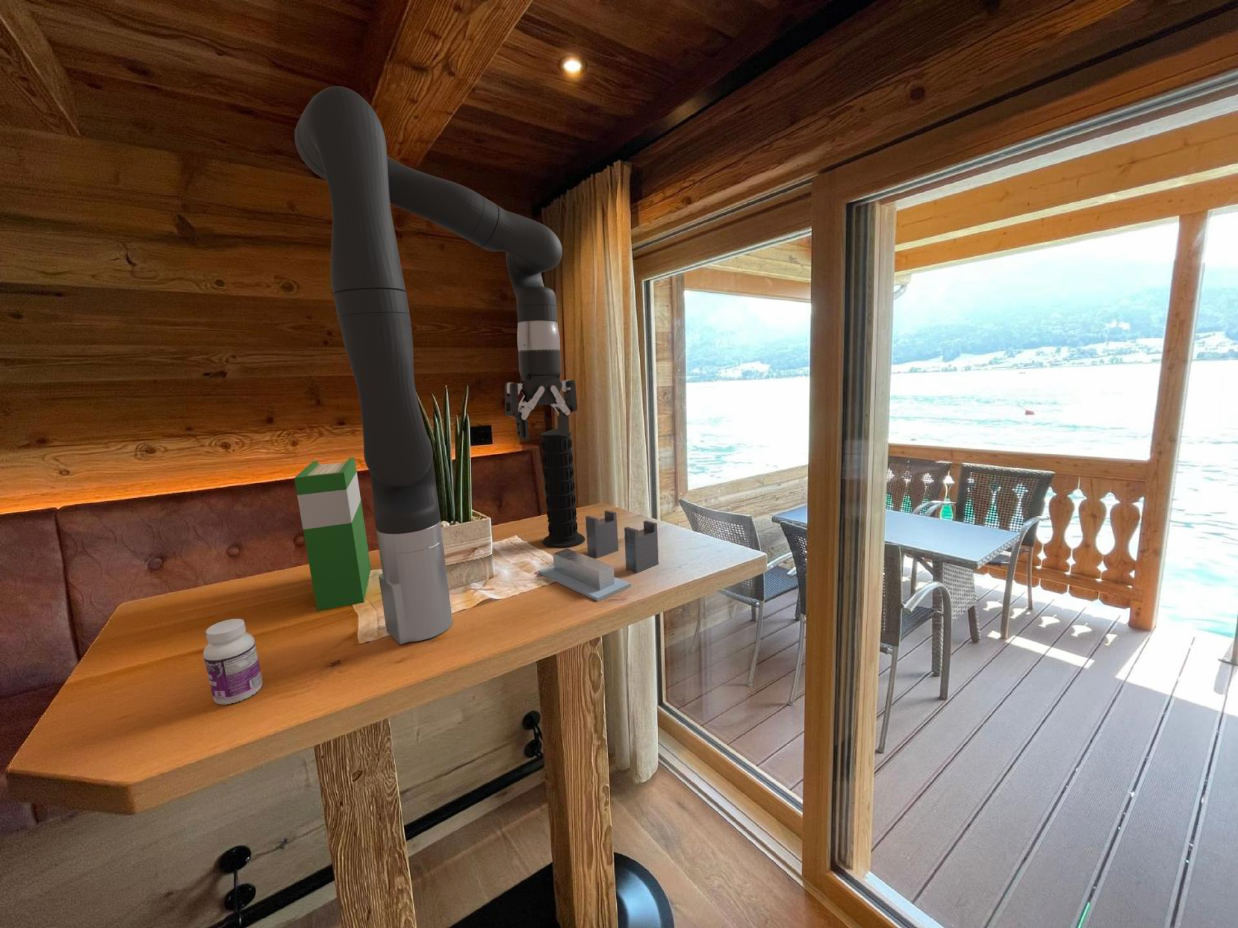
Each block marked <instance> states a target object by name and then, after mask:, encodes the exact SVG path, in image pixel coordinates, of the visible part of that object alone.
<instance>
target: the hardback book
mask: <svg viewBox="0 0 1238 928" xmlns="http://www.w3.org/2000/svg"><path fill="white" fill-rule="evenodd" d="M294 484H295V491H296V496H297V501H298V507H299V508H298V509H299V513H300V514H299V515H300V520H301V525H302V531H303V538H304V543H305V548H306V554H307V560H308V567H309V571H310V576H311V577H310V578H311V583H312V588H313V589H312V590H313V593H314V600H315V606H316V612H320V611H326V610H332V609H336V608H342V607H343V608H344V607H347V606H352V605H359V604H362V603H365V598H366V594H367V588H368V584H369V580H370V576H369V575H371V571H372V566H371V561H370V560H371V559H370V553H369V546H368V539H367V538H368V537H367V533H366V526H365V519H364V512H363V506H362V499H361V493H360V485H359V477H358V472H357V463H356V458H355V456H353V457H349V458H348V459H347V460H346V461H341V462H333V463H332V462H330V463H320V462H319V460H314V461H311V463H310V464H308V465H307V466H306V467H305V468H304V469H302V470H301V471H300V472H299V473H298V474H297V475H295V477H294ZM358 603H359V604H358Z"/></svg>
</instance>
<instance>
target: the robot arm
mask: <svg viewBox="0 0 1238 928" xmlns="http://www.w3.org/2000/svg"><path fill="white" fill-rule="evenodd" d="M385 135H386V134H385V131H384V129H383V125H382V123H381V120H380V118H379V117H378V115H377V113H376V112H375V110H374V109H373V107H372V106H371V104H369V102H368V101H367V99H365V98H364V97H362V96H361V94H359V93H358V92H355V91H354V90H353V89H350V88H348V87H345V86H338V85H335V86H333V85H332V86H329V87H326V88H325V89H322V90H320V91H319V92H318V93H316V95H314V96H313V97H312V98H311V99H310V101H309V102H308V104H307V105H306V107H305V108H304V110H303V112H302V114H301V115H300V117H299V119H298V121H297V124H296V126H295V129H294V144H295V147H296V150H297V152H298V155H299V156H300V158H301V160H302V162H304V164H305V165H306V166H307V167H308V168H309V169H310V170H311V171H312V172H313V173H314V174H316V175H317V176H319V177H320V178H321V179H324V180H325V181H326V183H327V187H328V191H329V197H330V203H331V211H332V212H331V213H332V214H331V215H332V216H331V218H332V229H331V244H330V245H331V247H330V278H331V288H332V295H333V299H334V306H335V309H336V310H335V311H336V314H337V320H338V324H339V327H340V331H341V336H342V340H343V344H344V347H345V352H346V354H347V355H346V356H347V358H348V361H349V366H350V368H351V372H352V374H353V377H354V380H355V384H356V387H357V392H358V397H359V403H360V413H361V423H362V424H361V425H362V437H363V438H362V439H363V459H364V463H365V465H366V467H367V469H368V471H369V476H370V477H369V478H370V483H371V488H372V489H371V490H372V499H373V500H372V501H373V518H374V523H375V530H376V536H377V544H378V551H379V559H380V563H381V565H380V566H381V572H382V574H381V573H380V575H379V576H378V579H379V580H378V581H379V588H380V594H381V601H382V602H381V603H382V608H383V609H382V610H383V616H384V623H385V628H386V630H385V631H386V632H387V633H388V634H389V635H390V637H392V639H394V640H395V641H396V642H397V643H398V645H404V644H406V643H412V642H420V641H423V640H424V641H425V640H427V639H431V638H434V637H436V636H439V635H440V634H442V633H445V631H447V630H448V629H449V628H450V627H451V625H452V623H453V616H452V615H453V614H452V605H451V599H450V589H449V583H448V582H449V581H448V573H447V565H446V558H445V546H444V541H443V539H444V538H443V532H442V530H443V529H442V523H441V522H442V521H441V513H440V504H439V497H438V490H437V483H436V475H435V468H434V457H433V455H434V452H433V447H432V442H431V439H430V438H429V435H428V434H427V430H426V428H425V427H426V426H425V423H424V420H423V417H422V412H421V408H420V406H419V404H420V403H419V400H418V396H417V391H416V384H415V372H414V371H415V370H414V369H415V366H414V343H413V331H412V329H413V328H412V321H411V313H410V308H409V302H408V295H407V291H406V290H407V289H406V284H405V281H404V275H403V270H402V264H401V259H400V251H399V248H398V241H397V236H396V231H395V226H394V221H393V215H392V209H391V208H392V207H391V205H392V206H395V207H396V208H400V209H402V210H405V211H407V212H409V213H412V214H414V215H416V216H419V217H420V218H423V219H425V220H428V221H429V222H432V223H434V224H436V225H438V226H440V227H442V228H444V229H446V230H448V231H450V232H451V233H453V234H455V235H457V236H459V237H461V238H463V239H465V240H467V241H468V242H471V244H474V245H476V246H477V247H479V248H482V249H484V250H486V251H488V252H494V253H496V252H504V253H505V252H506V253H505V262H506V263H505V264H506V267H507V268H506V269H507V272H508V275H509V280H510V283H511V286H512V289H513V293H514V295H515V298H516V314H517V315H516V317H517V333H516V334H517V337H516V338H517V339H516V341H517V350H518V351H517V352H518V353H517V355H518V368H519V369H518V370H519V374H520V382H519V383H517V382H505V384H504V409H505V410H504V413H505V415H506V417H510V418H513V419H514V420H515V423H516V425H515V426H516V435H517V438H519V440H520V441H524V442H526V441H529V440H530V430H529V420H528V419H527V418H528V416H529V415H530V413H531V411H532V410H534V409H535V407H536V406H537V407H538V406H544V405H550V406H551V407H552V408H554V410H555V412H556V413H557V414H558V415H556V419H557V421H556V422H557V429H558V434H559V435H562V436H565V435H567V434H568V432H569V431H570V419H569V416H570V414H571V413H574V412H576V411H578V398H577V388H576V382H575V380H574V379H564V380H561V373H562V361H561V360H562V358H561V341H560V340H561V339H560V338H561V337H560V331H559V325H558V311H557V310H558V308H557V307H558V305H557V297H556V293H555V291H554V290H553V289H552V288H549V287H546V286H545V283H544V281H543V277H542V273H544V272H548V271H550V270H553V269H555V268H556V267H557V266H558V265H559V263H560V262H561V260H562V258H563V246H562V243H561V241H560V239H559V237H558V236H557V235H556V233H555V232H553V230H552V229H550V228H549V227H548V226H546V225H545V224H543V223H541V222H538V221H536V220H534V219H532V218H528V217H525V216H523V215H521V214H517V213H514V212H512V211H508V210H505V209H503V207H501V206H499V205H497V204H496V203H495V202H493V201H491V200H489V199H488V198H486V197H484V196H483V195H481V194H480V193H478V192H476V191H475V190H473V189H470V188H469V187H466V186H464V185H462V184H459V183H458V182H454V181H451V180H448V179H445V178H442V177H437V176H434V175H431V174H429V173H425V172H422V171H419V170H416V169H414V168H411V167H409V166H407V165H405V164H402V163H401V162H399V161H397V160H395V159H393V158H392V157H390V156H388V152H387V150H388V149H387V141H386V136H385ZM561 391H562V392H563V396H562V395H561V394H560V392H561ZM520 393H522V395H523V396H522V397H521V400H520V401H519V395H520Z"/></svg>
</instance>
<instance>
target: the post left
mask: <svg viewBox="0 0 1238 928" xmlns="http://www.w3.org/2000/svg"><path fill="white" fill-rule="evenodd" d="M617 517H618V516H617V512H615V511H614V510H613V511H612V510H609V509H606V510H604V517H603V518H600V519H599V518H598V517H595V516H591V515H586V516H585V529H586V530H585V531H586V544H587V545H586V546H587V549H586V550H587V556H589V557H591V558H594V559H599V558H602V557H604V556H606V555H609V554H612V553H614V552H617V551H619V537H618V536H619V535H618V519H617Z"/></svg>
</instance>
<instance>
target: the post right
mask: <svg viewBox="0 0 1238 928" xmlns="http://www.w3.org/2000/svg"><path fill="white" fill-rule="evenodd" d="M642 524H643V529H636V528H633V527H630V526H626V527H624V529H623V531H624V555H625V556H624V557H625V558H624V559H625V569H626V571H630V572H632V573H635V574H638V573H640V572H643V571H646V570H647V569H650V568H652V567H655V566H656V565H659V541H658V540H659V539H658V537H659V536H658V522H653V521H649V520H648V519H647V520H643V523H642Z"/></svg>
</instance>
